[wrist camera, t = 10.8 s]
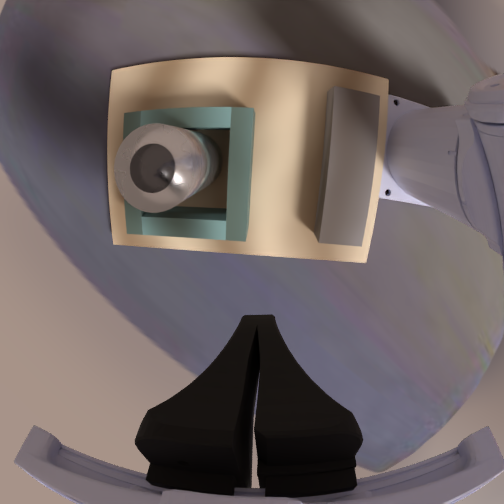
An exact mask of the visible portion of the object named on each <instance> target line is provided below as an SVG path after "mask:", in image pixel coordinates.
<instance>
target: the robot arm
mask: <svg viewBox="0 0 504 504" xmlns="http://www.w3.org/2000/svg"><path fill="white" fill-rule="evenodd" d="M394 100H396V101H397V106H396V105H395V104H394ZM387 189H388V190H389V193H388V194H387V195H385V191H386V190H387ZM379 198H383V199H390V200H396V201H402V202H408V203H413V204H419V205H424V206H429V207H433V208H435V209H437V210H439V211H441V212H443V213H445V214H447V215H449V216H451V217H453V218H455V219H457V220H458V221H460V222H462V223H464V224H466V225H467V226H469V227H471V228H473V229H474V230H476V231H478V232H480V233H481V234H483V235H484V236H485V237H486V239H487V241H488V244H489V247H490V248H491V249H493V250H494V251H496V252H497V253H499V254H500V255H501V256H503V272H504V73H503V74H499V75H496V76H493V77H490V78H487V79H484V80H482V81H480V82H478V83H476V84H474V85H473V86H472V87H471V88H470V91H469V94H468V97H467V98H466V100H465V105H455V106H444V107H435V108H430V107H427V106H425V105H422V104H419V103H416V102H413V101H410V100H407V99H404V98H400V97H397V96H394V95H388V115H387V130H386V143H385V153H384V162H383V171H382V178H381V186H380V192H379ZM259 372H260V375H259ZM258 379H259V389H258V399H257V409H256V418H255V427H254V432H255V440H256V448H257V456H258V465H257V466H258V467H257V476H258V479H259V486H260V488H251V485H252V447H253V418H254V407H255V400H256V393H257V386H258ZM362 442H363V438H362V433H361V430H360V428H359V425H358V423H357V421H356V419H355V417H354V415H353V414H352V412H350V411H349V410H347V409H346V408H344V407H343V406H341V405H340V404H339V403H337V402H336V401H335V400H333V399H332V398H331V397H330V396H329V395H327V394H326V393H325V392H324V391H323V390H322V389H321V388H320V387H319V386H318V385H317V384H316V383H315V382H314V381H313V380H312V379H311V378H310V377H309V376H308V375H307V374H306V373H305V371H304V370H303V369H302V368H301V366H300V365H299V364H298V363H297V361H296V360H295V358H294V357H293V355H292V354H291V352H290V351H289V349H288V347H287V345H286V344H285V342H284V340H283V338H282V336H281V334H280V332H279V329H278V327H277V324H276V321H275V316H273V315H244V316H243V317H242V319H241V321H240V323H239V325H238V327H237V329H236V330H235V332H234V334H233V335H232V337H231V338H230V340H229V341H228V343H227V344H226V346H225V347H224V349H223V350H222V351H221V352H220V354H219V355H218V356H217V358H216V359H215V360H214V361H213V362H212V363H211V364H210V366H209V367H208V368H207V369H206V370H205V371H204V372H203V373H202V374H201V375H199V376H198V377H197V378H196V379H195V380H194V381H193V382H192V383H190V384H189V385H188V386H187V387H185V388H184V389H183V390H181V391H180V392H178V393H177V394H176V395H174V396H173V397H171V398H170V399H168V400H166V401H165V402H163V403H161V404H159V405H157V406H156V407H153V408H151V409H149V410H148V411H147V413H146V415H145V417H144V418H143V421H142V423H141V425H140V428H139V430H138V433H137V436H136V438H135V445H136V446H137V448H138V450H139V451H140V452H141V453H142V454H143V455H144V457H145V458H146V459H147V460H148V461H149V462H150V466H149V469H148V473H147V474H144V473H140V472H136V471H133V470H129V469H126V468H123V467H119V466H116V465H113V464H110V463H107V462H104V461H101V460H99V459H96V458H93V457H90V456H88V455H86V454H83V453H81V452H78V451H76V450H74V449H71V448H69V447H67V446H64V445H62V444H61V442H59V440H58V439H57V438H56V437H55V436H53V435H52V434H51V433H49V432H47V431H45V430H43V429H41V428H39V427H37V426H35V425H34V426H33V427H32V429H31V431H30V432H29V434H28V436H27V438H26V440H25V441H24V443H23V445H22V447H21V449H20V451H19V452H18V454H17V456H16V458H15V460H14V463H15V464H17V465H18V466H19V467H20V468H21V469H23V470H24V471H25V472H27V473H28V474H29V475H30V476H32V477H33V478H35V479H36V480H37V481H39V482H40V483H42V484H43V485H44V486H46V487H47V488H49V489H51V490H52V491H54V492H56V493H58V494H59V495H61V496H63V497H65V498H67V499H68V500H70V501H72V502H74V503H76V504H454V503H456V502H458V501H460V500H461V499H463V498H465V497H467V496H469V495H470V494H472V493H474V492H475V491H477V490H478V489H480V488H481V487H483V486H484V485H486V484H487V483H488V482H490V481H491V480H493V479H494V478H495V477H497V476H498V475H499V474H501V473H502V472H503V471H504V459H503V456H502V454H501V452H500V449H499V447H498V445H497V443H496V440H495V438H494V436H493V434H492V432H491V430H490V428H489V426H486V427H485V428H482V429H481V430H479V431H477V432H475V433H473V434H471V435H469V436H468V437H466V438H465V439H464V440H463V441H462V442H461V443H460V444H459V445H458V447H456V448H454V449H452V450H450V451H447V452H445V453H442V454H440V455H437V456H435V457H432V458H430V459H427V460H424V461H422V462H419V463H416V464H413V465H410V466H407V467H403V468H400V469H397V470H393V471H390V472H386V473H382V474H378V475H374V476H370V477H365V478H360V479H356V474H355V467H356V460H355V455H356V453H357V452H358V450H359V448H360V447H361V445H362Z"/></svg>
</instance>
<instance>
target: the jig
mask: <svg viewBox="0 0 504 504" xmlns="http://www.w3.org/2000/svg"><path fill="white" fill-rule="evenodd" d="M388 87H389V79H386V78H382V77H378V76H375V75H371V74H367V73H363V72H358V71H354V70H349V69H345V68H340V67H334V66H329V65H323V64H316V63H309V62H302V61H293V60H283V59H270V58H250V57H214V58H194V59H181V60H171V61H163V62H155V63H148V64H142V65H136V66H131V67H126V68H121V69H116V70H112V75H111V85H110V96H109V110H108V136H107V164H108V190H109V206H110V217H111V228H112V237H113V244H115V245H128V246H141V247H154V248H168V249H181V250H194V251H208V252H221V253H235V254H249V255H263V256H276V257H290V258H304V259H318V260H332V261H347V262H361V263H366V261H367V256H368V252H369V247H370V242H371V237H372V233H373V227H374V222H375V217H376V211H377V205H378V199H379V192H380V186H381V178H382V171H383V162H384V153H385V143H386V130H387V115H388ZM153 123H160V124H166V125H170V126H175V127H179V128H183V129H187V130H191V131H195V132H199V133H203V134H206V135H208V136H210V137H211V138H212V139H214V140H215V141H216V143H217V144H218V146H219V147H220V149H221V152H222V157H223V163H222V169H221V171H220V174H219V176H218V177H217V179H216V180H215V181H214V182H213V183H212V184H210V185H209V186H207V187H206V188H204V189H202V190H201V191H199V192H197V193H196V194H194V195H192V196H191V197H189V198H187V199H186V200H184V201H183V202H181V203H179V204H178V205H176V206H175V207H173V208H171V209H169V210H166V211H163V212H158V213H150V212H145V211H141V210H139V209H137V208H135V207H133V206H132V205H131V204H129V203H128V202H127V201H126V200H125V199H124V197H123V196H122V195H121V193H120V191H119V189H118V187H117V184H116V181H115V176H114V163H115V157H116V154H117V151H118V149H119V147H120V145H121V143H122V142H123V140H124V139H125V138H126V137H127V136H128V135H129V134H130V133H131V132H132V131H134V130H135V129H137V128H139V127H141V126H143V125H147V124H153Z"/></svg>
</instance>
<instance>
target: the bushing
mask: <svg viewBox="0 0 504 504" xmlns="http://www.w3.org/2000/svg"><path fill="white" fill-rule="evenodd" d="M222 163H223V157H222V152H221V149H220V147H219V146H218V144H217V143H216V141H215V140H214V139H212V138H211V137H210V136H208V135H206V134H203V133H199V132H195V131H191V130H187V129H183V128H179V127H175V126H170V125H166V124H160V123H153V124H147V125H143V126H141V127H139V128H137V129H135V130H134V131H132V132H131V133H130V134H129V135H128V136H127V137H126V138H125V139H124V140H123V142H122V143H121V145H120V147H119V149H118V151H117V154H116V157H115V163H114V176H115V181H116V184H117V187H118V189H119V191H120V193H121V195H122V196H123V197H124V199H125V200H126V201H127V202H128V203H129V204H131V205H132V206H133V207H135V208H137V209H139V210H141V211H145V212H150V213H158V212H163V211H166V210H169V209H171V208H173V207H175V206H176V205H178V204H179V203H181V202H183V201H184V200H186V199H187V198H189V197H191V196H192V195H194V194H196V193H197V192H199V191H201V190H202V189H204V188H206V187H207V186H209V185H210V184H212V183H213V182H214V181H215V180H216V179H217V177H218V176H219V174H220V171H221V169H222Z"/></svg>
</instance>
